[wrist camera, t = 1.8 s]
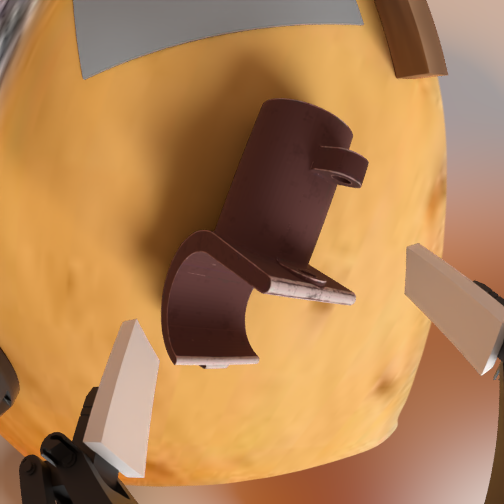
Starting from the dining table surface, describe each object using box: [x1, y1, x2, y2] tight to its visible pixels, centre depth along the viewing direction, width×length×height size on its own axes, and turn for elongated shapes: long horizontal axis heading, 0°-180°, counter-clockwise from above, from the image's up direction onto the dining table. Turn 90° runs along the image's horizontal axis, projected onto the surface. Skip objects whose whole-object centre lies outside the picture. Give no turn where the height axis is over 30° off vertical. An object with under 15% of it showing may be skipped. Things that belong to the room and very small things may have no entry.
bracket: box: [161, 98, 369, 369], centre depth 16 cm, size 6×17×10 cm, turn 157°
